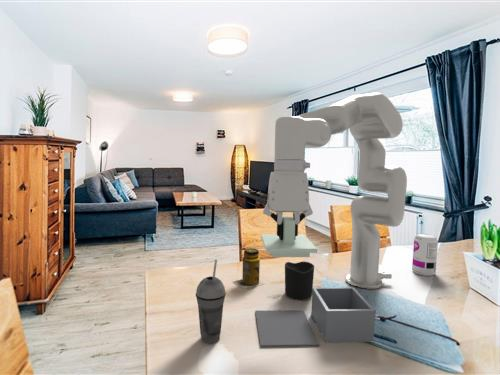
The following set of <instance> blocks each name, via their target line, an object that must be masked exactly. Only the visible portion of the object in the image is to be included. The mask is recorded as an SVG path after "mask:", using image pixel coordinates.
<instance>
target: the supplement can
mask: <svg viewBox="0 0 500 375" xmlns="http://www.w3.org/2000/svg"><path fill="white" fill-rule="evenodd" d="M438 245H439V241H438V238H437V236H436V235H434V234H428V233H417V234H416V235H415V236H414V238H413V249H412V250H413V251H412V262H411V269H412V270H411V271H413V273H415V274H417V275H419V276H426V277H431V276H434V275H435V274H436V272H437V271H436V270H437V259H438V249H439V248H438Z"/></svg>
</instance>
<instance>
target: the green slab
mask: <svg viewBox="0 0 500 375" xmlns="http://www.w3.org/2000/svg"><path fill="white" fill-rule="evenodd" d="M282 222H283V226H284V227H283V240H280V238H279V236H277V233H270V234H267V233H261V235H260V238H261V242H262V244H263V247H264V249H265V252H266V253H267V254H269V255H270V257H271V258H310V257H311V256H310V254H317V253H318V248H317V247H316V246H315V245H314V243H313V242H312V241H311V240H310V239H309V238H308V237H307V235H305V234H304V233H303V234H302V233H300V234H299V233H298V236H296V239H295V220H294V219H293V216H291V215H289V214H287V215H285V214H284V215H283V214H282Z"/></svg>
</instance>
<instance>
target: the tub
mask: <svg viewBox="0 0 500 375" xmlns="http://www.w3.org/2000/svg"><path fill="white" fill-rule="evenodd" d="M310 314H311V316H313V317H312V319H313V318H314V319H313V321H314V320H315V321H314V322H316V323H315V324H316V327H317V328H318V331H319V332H320V335H321V336H322V338H323V341H324V343H369V341H374V340H375V325H376V324H375V322H376V309H375V308H374V307H373V306H372V305H371V304H370V303H369V302H368V301H367V300H366V299H365V297H364V296H363V295H362V294H361V293H360V292H359V291H358V290H357V289H356V288H355V286H346V287H345V286H342V287H341V286H333V287H331V286H328V287H327V286H326V287H322V286H321V287H318V286H317V287H316V286H315V287H314V286H313V287H312V296H311V313H310Z"/></svg>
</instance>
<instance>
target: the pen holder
mask: <svg viewBox="0 0 500 375" xmlns="http://www.w3.org/2000/svg"><path fill="white" fill-rule="evenodd" d="M314 276H315V265H314V264H313V263H311V262H310V261H299V262H290V261H287V262H285V264H284V290H285V291H284V293H285V296H286V297H288V298H289V299H292V300H294V301H307V300H310V299H311V298H312V287H314V278H315V277H314Z"/></svg>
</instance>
